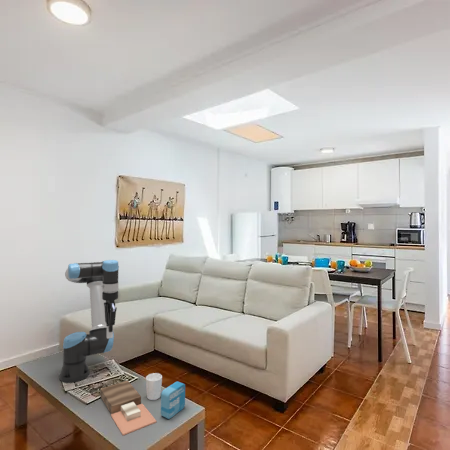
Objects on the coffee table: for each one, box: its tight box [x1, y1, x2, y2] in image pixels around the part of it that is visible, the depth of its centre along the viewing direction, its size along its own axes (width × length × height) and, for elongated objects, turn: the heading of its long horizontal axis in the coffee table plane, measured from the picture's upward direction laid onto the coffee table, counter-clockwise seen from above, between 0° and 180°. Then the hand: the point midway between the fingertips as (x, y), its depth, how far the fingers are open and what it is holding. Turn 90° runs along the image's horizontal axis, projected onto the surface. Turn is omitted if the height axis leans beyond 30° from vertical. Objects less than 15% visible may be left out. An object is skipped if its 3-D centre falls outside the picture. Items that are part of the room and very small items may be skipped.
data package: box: [160, 381, 186, 420], centre depth 150 cm, size 12×4×12 cm, turn 147°
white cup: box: [145, 372, 163, 401], centre depth 162 cm, size 8×8×10 cm
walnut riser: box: [99, 380, 142, 415], centre depth 158 cm, size 18×14×4 cm
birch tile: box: [121, 402, 141, 421], centre depth 147 cm, size 9×6×2 cm, turn 37°
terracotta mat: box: [110, 403, 157, 436], centre depth 144 cm, size 16×15×1 cm
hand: (109, 337), depth 162 cm, fingers closed
